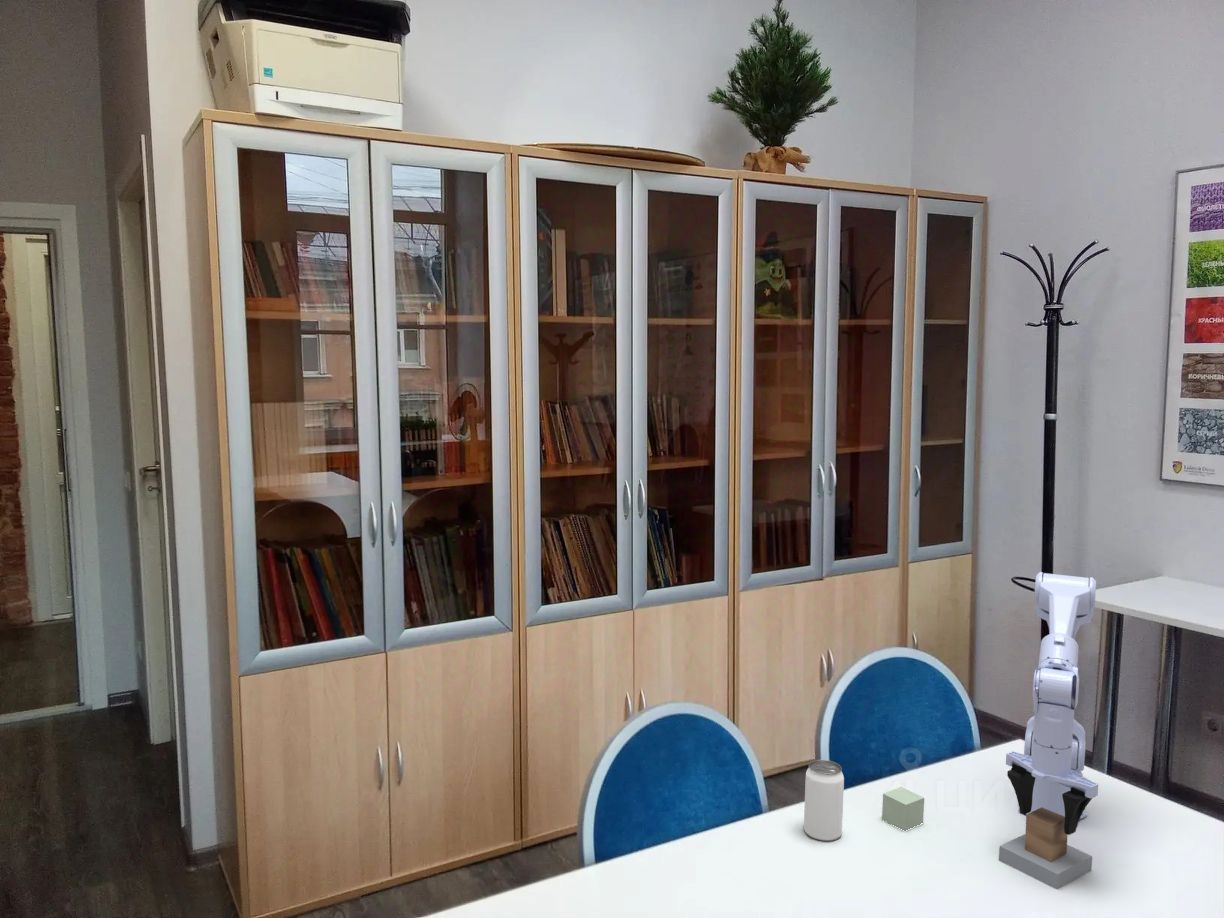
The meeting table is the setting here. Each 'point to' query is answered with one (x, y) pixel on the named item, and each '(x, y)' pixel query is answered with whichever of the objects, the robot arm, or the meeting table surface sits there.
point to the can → (824, 800)
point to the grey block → (1045, 863)
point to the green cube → (903, 808)
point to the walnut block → (1045, 834)
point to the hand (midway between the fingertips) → (1047, 822)
